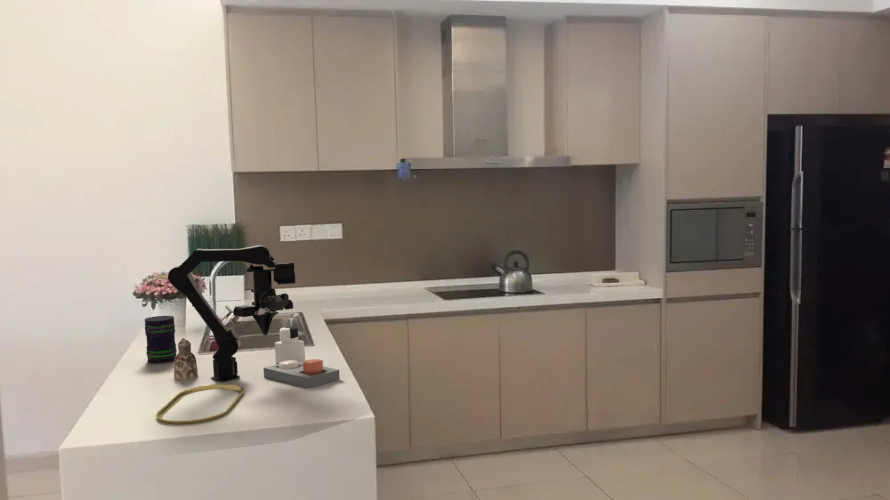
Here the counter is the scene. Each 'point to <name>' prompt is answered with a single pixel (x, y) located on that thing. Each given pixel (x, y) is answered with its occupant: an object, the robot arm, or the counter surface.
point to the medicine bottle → (289, 346)
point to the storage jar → (160, 339)
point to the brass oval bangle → (193, 390)
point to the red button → (312, 367)
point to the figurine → (185, 362)
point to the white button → (288, 364)
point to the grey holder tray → (301, 375)
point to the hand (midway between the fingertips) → (265, 334)
